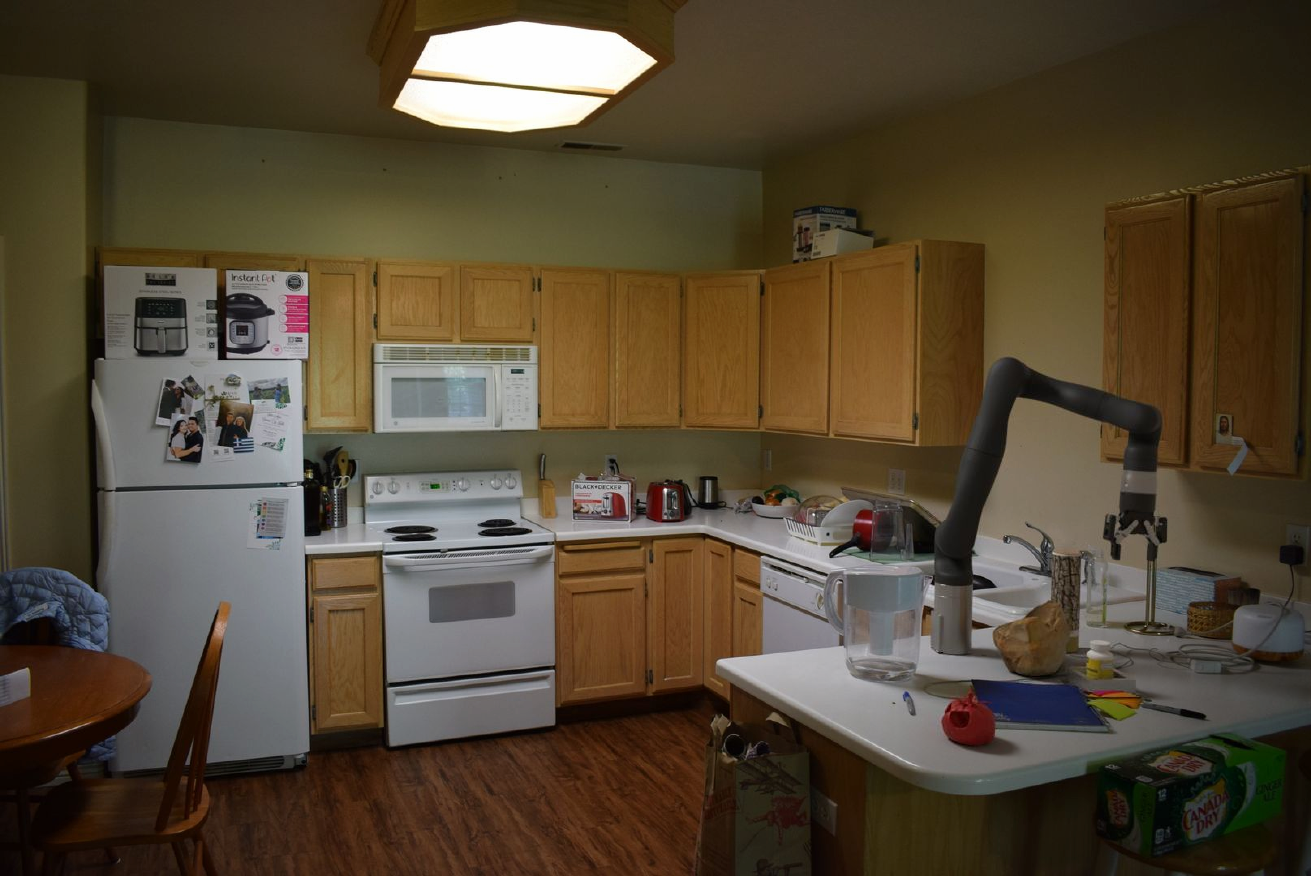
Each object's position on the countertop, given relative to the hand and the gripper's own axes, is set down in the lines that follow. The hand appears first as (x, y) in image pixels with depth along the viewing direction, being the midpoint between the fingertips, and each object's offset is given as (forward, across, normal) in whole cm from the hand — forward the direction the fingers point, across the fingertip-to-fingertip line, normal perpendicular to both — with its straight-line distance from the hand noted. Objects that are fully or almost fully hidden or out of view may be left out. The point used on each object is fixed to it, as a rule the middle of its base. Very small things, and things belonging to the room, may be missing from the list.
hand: (1133, 560), depth 224 cm
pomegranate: (+29, +55, +38) cm, 73 cm away
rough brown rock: (+28, +19, -9) cm, 35 cm away
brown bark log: (+27, +3, -22) cm, 35 cm away
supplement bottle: (+27, +12, +10) cm, 31 cm away
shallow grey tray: (+27, +12, +10) cm, 32 cm away
